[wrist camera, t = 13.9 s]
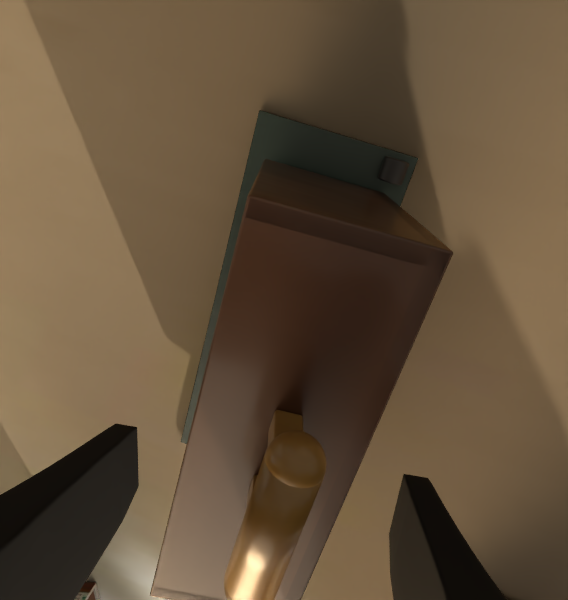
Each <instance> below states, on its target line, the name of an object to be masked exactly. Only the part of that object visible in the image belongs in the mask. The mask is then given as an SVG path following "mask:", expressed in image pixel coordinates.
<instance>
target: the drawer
mask: <svg viewBox="0 0 568 600" xmlns="http://www.w3.org/2000/svg"><path fill="white" fill-rule="evenodd" d="M452 254H453V252H452V251H451V250H450V249H449V248H448V247H447V246H445V245H444V244H443V243H442V242H441V241H440V240H438V239H437V238H436V237H435V236H434V235H433V234H431V233H430V232H429V231H428V230H427V229H426V228H424V227H423V226H422V225H421V224H420V223H419V222H417V221H416V220H415V219H414V218H413V217H412V216H410V215H409V214H408V213H407V212H406V211H405V210H403V209H402V208H401V207H400V206H399V205H398V204H396V203H395V202H394V201H393V200H392V199H391V198H389V197H388V196H387V195H386V194H385V193H383V192H379V191H376V190H372V189H369V188H365V187H362V186H358V185H355V184H352V183H348V182H345V181H341V180H338V179H334V178H331V177H327V176H324V175H320V174H317V173H314V172H310V171H307V170H303V169H300V168H296V167H293V166H289V165H286V164H282V163H279V162H276V161H272V160H269V159H265V160H264V162H263V164H262V166H261V168H260V170H259V173H258V175H257V177H256V179H255V181H254V183H253V186H252V188H251V190H250V192H249V194H248V196H247V200H246V204H245V208H244V212H243V216H242V221H241V225H240V229H239V233H238V237H237V241H236V245H235V249H234V253H233V257H232V261H231V266H230V270H229V274H228V278H227V282H226V286H225V290H224V294H223V298H222V302H221V306H220V311H219V315H218V319H217V323H216V327H215V331H214V335H213V339H212V343H211V347H210V351H209V356H208V360H207V364H206V368H205V372H204V376H203V380H202V384H201V388H200V392H199V396H198V401H197V405H196V409H195V413H194V417H193V421H192V425H191V429H190V433H189V437H188V441H187V446H186V450H185V454H184V458H183V462H182V466H181V470H180V474H179V478H178V482H177V486H176V491H175V495H174V499H173V503H172V507H171V511H170V515H169V519H168V523H167V527H166V531H165V536H164V540H163V544H162V548H161V552H160V556H159V560H158V564H157V568H156V572H155V576H154V581H153V585H152V589H151V593H150V596H154V597H159V598H164V599H170V600H301V598H302V596H303V594H304V591H305V589H306V587H307V584H308V582H309V580H310V578H311V575H312V573H313V571H314V568H315V566H316V564H317V562H318V559H319V557H320V555H321V553H322V550H323V548H324V546H325V543H326V541H327V539H328V537H329V534H330V532H331V530H332V528H333V525H334V523H335V521H336V518H337V516H338V514H339V512H340V509H341V507H342V505H343V503H344V500H345V498H346V496H347V493H348V491H349V489H350V487H351V484H352V482H353V480H354V477H355V475H356V473H357V471H358V468H359V466H360V464H361V462H362V459H363V457H364V455H365V452H366V450H367V448H368V446H369V443H370V441H371V439H372V437H373V434H374V432H375V430H376V427H377V425H378V423H379V421H380V418H381V416H382V414H383V411H384V409H385V407H386V405H387V402H388V400H389V398H390V396H391V393H392V391H393V389H394V386H395V384H396V382H397V380H398V377H399V375H400V373H401V371H402V368H403V366H404V364H405V361H406V359H407V357H408V355H409V352H410V350H411V348H412V345H413V343H414V341H415V339H416V336H417V334H418V332H419V330H420V327H421V325H422V323H423V320H424V318H425V316H426V314H427V311H428V309H429V307H430V305H431V302H432V300H433V298H434V295H435V293H436V291H437V289H438V286H439V284H440V282H441V279H442V277H443V275H444V273H445V270H446V268H447V266H448V264H449V261H450V259H451V257H452Z"/></svg>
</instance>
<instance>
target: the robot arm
mask: <svg viewBox="0 0 568 600" xmlns="http://www.w3.org/2000/svg"><path fill="white" fill-rule="evenodd" d="M138 486H139V484H138V447H137V427H133V426H127V425H121V424H114V425H113V426H111V427H110V428H108V429H106V430H105V431H103V432H102V433H100V434H99V435H97V436H96V437H94V438H93V439H91V440H90V441H88V442H87V443H85V444H84V445H82V446H81V447H79V448H78V449H76V450H74V451H73V452H71V453H70V454H68V455H67V456H65V457H63V458H62V459H60V460H59V461H57V462H56V463H54V464H53V465H51V466H49V467H48V468H46V469H44V470H43V471H41V472H39V473H38V474H36V475H34V476H32V477H31V478H29V479H27V480H26V481H24V482H22V483H20V484H19V485H17V486H15V487H14V488H12V489H10V490H8V491H7V492H5V493H3V494H1V495H0V600H74V599H75V598H76V596H77V595H78V593H79V591H80V590H81V588H82V586H83V585H84V583H85V582H86V580H87V578H88V577H89V575H90V573H91V572H92V570H93V569H94V567H95V565H96V564H97V562H98V561H99V559H100V557H101V556H102V554H103V552H104V551H105V549H106V548H107V546H108V544H109V543H110V541H111V539H112V538H113V536H114V534H115V533H116V531H117V529H118V528H119V526H120V524H121V523H122V521H123V519H124V517H125V515H126V512H127V510H128V508H129V506H130V504H131V502H132V500H133V497H134V495H135V493H136V491H137V488H138ZM389 540H390V575H391V583H392V591H393V599H394V600H507V599H506V598H505V597H504V595H503V594H502V593H501V591H500V590H499V589H498V587H497V586H496V584H495V583H494V582H493V580H492V579H491V577H490V576H489V575H488V573H487V572H486V570H485V569H484V568H483V566H482V565H481V563H480V562H479V560H478V559H477V557H476V556H475V554H474V553H473V551H472V550H471V548H470V547H469V545H468V543H467V542H466V540H465V539H464V537H463V536H462V534H461V533H460V531H459V529H458V528H457V526H456V525H455V523H454V521H453V520H452V518H451V516H450V515H449V513H448V511H447V510H446V508H445V506H444V504H443V503H442V501H441V499H440V497H439V496H438V494H437V492H436V490H435V489H434V487H433V485H432V483H431V482H430V480H429V479H428V478H424V477H419V476H413V475H407V474H404V475H403V479H402V483H401V487H400V491H399V495H398V500H397V504H396V508H395V512H394V516H393V520H392V524H391V528H390V533H389Z"/></svg>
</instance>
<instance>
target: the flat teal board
mask: <svg viewBox="0 0 568 600" xmlns="http://www.w3.org/2000/svg"><path fill="white" fill-rule="evenodd" d="M265 159H269V160H272V161H276V162H279V163H282V164H286V165H289V166H293V167H296V168H300V169H303V170H307V171H310V172H314V173H317V174H320V175H324V176H327V177H331V178H334V179H338V180H341V181H345V182H348V183H352V184H355V185H358V186H362V187H365V188H369V189H372V190H376V191H379V192H383V193H385V194H386V195H387V196H388V197H389V198H391V199H392V200H393V201H394V202H395V203H396V204H398V205H399V206H400V205H401V203H402V200H403V198H404V195H405V192H406V190H407V187H408V184H409V182H410V179H411V176H412V174H413V171H414V168H415V166H416V163H417V160H418V158H416V157H413V156H409V155H406V154H403V153H400V152H396V151H393V150H390V149H386V148H383V147H380V146H376V145H373V144H370V143H367V142H363V141H360V140H357V139H353V138H350V137H347V136H343V135H340V134H337V133H333V132H330V131H327V130H324V129H320V128H317V127H314V126H310V125H307V124H304V123H300V122H297V121H294V120H290V119H287V118H284V117H281V116H277V115H274V114H271V113H267V112H264V111H261V110H260V111H259V114H258V118H257V123H256V127H255V131H254V135H253V140H252V144H251V148H250V152H249V156H248V161H247V165H246V169H245V173H244V177H243V182H242V186H241V190H240V194H239V199H238V203H237V207H236V211H235V215H234V220H233V224H232V228H231V232H230V236H229V241H228V245H227V249H226V253H225V258H224V262H223V266H222V270H221V274H220V279H219V283H218V287H217V291H216V295H215V300H214V304H213V308H212V312H211V317H210V321H209V325H208V329H207V333H206V338H205V342H204V346H203V350H202V354H201V359H200V363H199V367H198V371H197V376H196V380H195V384H194V388H193V392H192V397H191V401H190V405H189V409H188V413H187V418H186V422H185V426H184V430H183V434H182V439H181V442H182V443H185V444H187V441H188V437H189V433H190V429H191V425H192V421H193V417H194V413H195V409H196V405H197V401H198V396H199V392H200V388H201V384H202V380H203V376H204V372H205V368H206V364H207V360H208V356H209V351H210V347H211V343H212V339H213V335H214V331H215V327H216V323H217V319H218V315H219V311H220V306H221V302H222V298H223V294H224V290H225V286H226V282H227V278H228V274H229V270H230V266H231V261H232V257H233V253H234V249H235V245H236V241H237V237H238V233H239V229H240V225H241V221H242V216H243V212H244V208H245V204H246V200H247V196H248V194H249V192H250V190H251V188H252V186H253V183H254V181H255V179H256V177H257V175H258V173H259V170H260V168H261V166H262V164H263V162H264V160H265Z"/></svg>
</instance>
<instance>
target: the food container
mask: <svg viewBox="0 0 568 600" xmlns="http://www.w3.org/2000/svg"><path fill="white" fill-rule="evenodd" d="M74 600H100V597H99V593H98V589H97V584H96V582H85V583H84V585H83V586H82V588H81V590H80V591H79V593H78V595H77V596H76V598H75V599H74Z"/></svg>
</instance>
